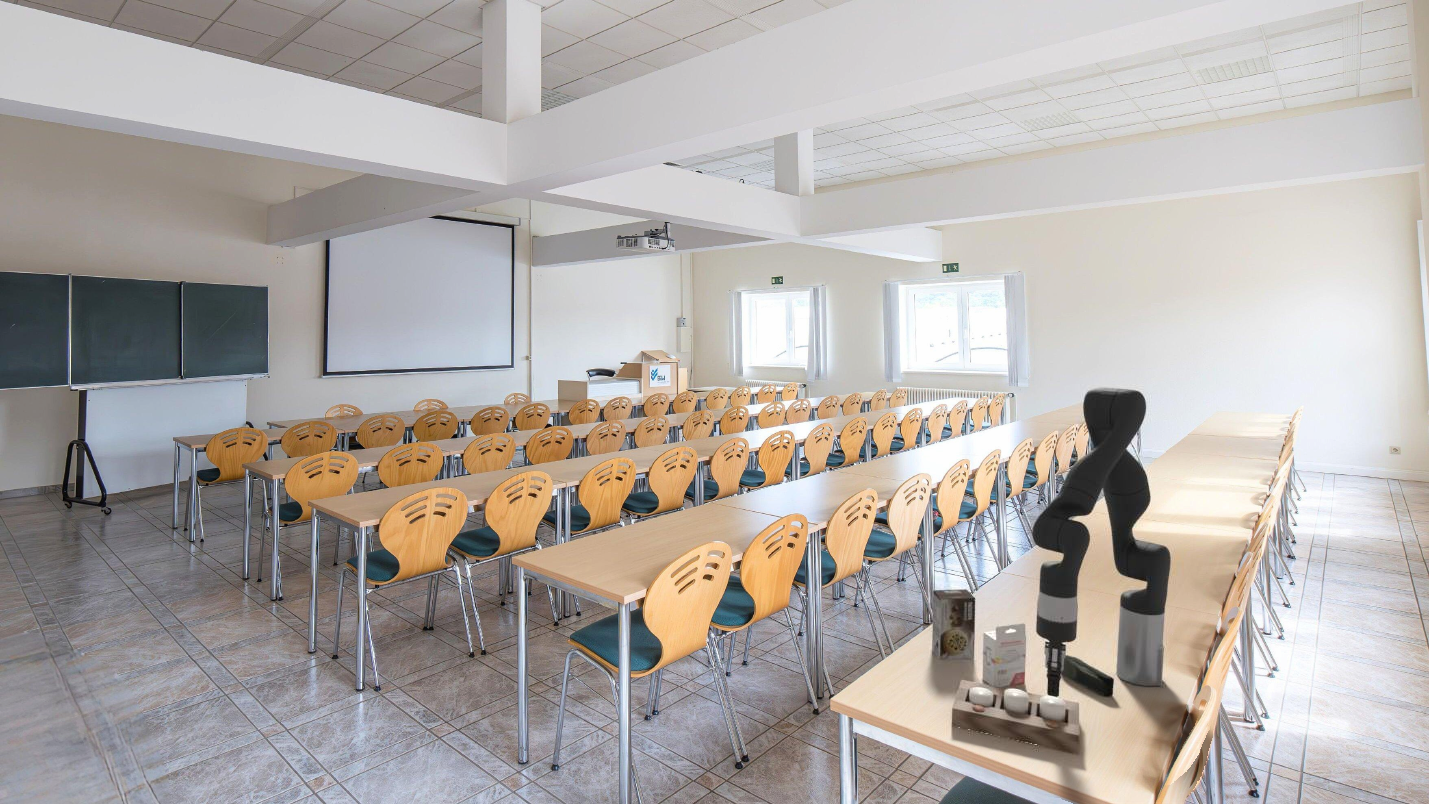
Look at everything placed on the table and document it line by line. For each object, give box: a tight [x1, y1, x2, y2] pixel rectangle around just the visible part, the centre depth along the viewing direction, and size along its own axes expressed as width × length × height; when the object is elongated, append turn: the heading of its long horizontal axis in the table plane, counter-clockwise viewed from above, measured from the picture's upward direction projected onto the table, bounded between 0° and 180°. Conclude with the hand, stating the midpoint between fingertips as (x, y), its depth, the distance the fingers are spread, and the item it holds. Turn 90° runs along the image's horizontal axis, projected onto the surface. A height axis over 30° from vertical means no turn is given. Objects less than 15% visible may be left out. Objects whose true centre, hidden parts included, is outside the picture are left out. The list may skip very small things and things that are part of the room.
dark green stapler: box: [1061, 654, 1115, 697], centre depth 174 cm, size 5×3×15 cm
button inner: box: [1040, 695, 1066, 722], centre depth 153 cm, size 5×5×4 cm
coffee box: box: [931, 588, 976, 660], centre depth 189 cm, size 9×6×16 cm
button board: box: [951, 679, 1080, 756], centre depth 156 cm, size 24×14×4 cm, turn 64°
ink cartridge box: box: [982, 622, 1027, 688], centre depth 174 cm, size 9×5×15 cm, turn 105°
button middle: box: [1004, 688, 1029, 715], centre depth 156 cm, size 5×5×4 cm
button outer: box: [969, 687, 993, 707], centre depth 159 cm, size 5×5×4 cm
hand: (1053, 694), depth 152 cm, fingers closed
